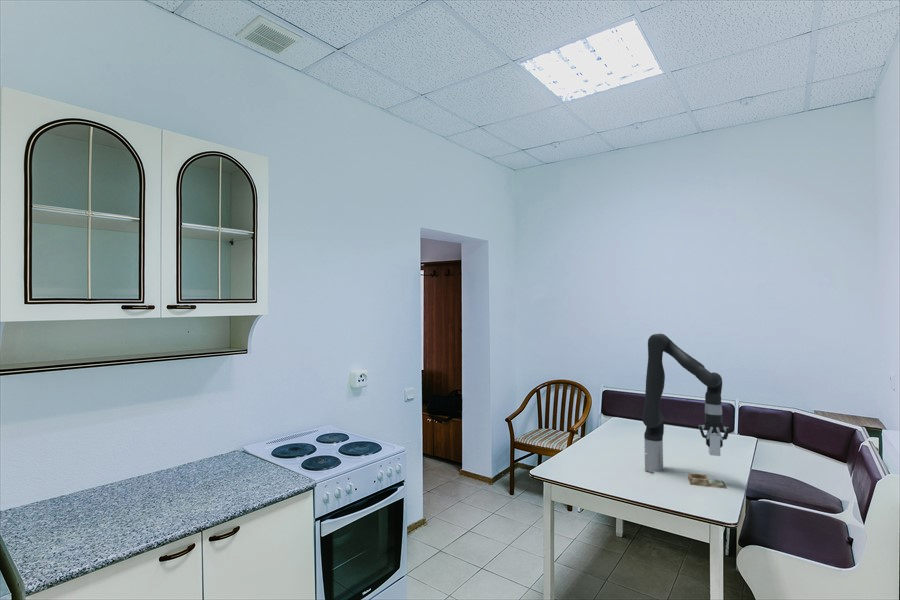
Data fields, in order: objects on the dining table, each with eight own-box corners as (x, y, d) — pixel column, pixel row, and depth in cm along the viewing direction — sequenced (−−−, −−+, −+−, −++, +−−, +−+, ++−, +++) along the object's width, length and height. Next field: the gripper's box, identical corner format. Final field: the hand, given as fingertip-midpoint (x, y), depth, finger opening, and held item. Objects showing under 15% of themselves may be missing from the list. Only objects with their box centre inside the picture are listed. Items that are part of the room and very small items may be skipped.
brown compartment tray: (690, 486, 222) (690, 478, 222) (687, 478, 232) (687, 470, 232) (727, 490, 216) (727, 482, 216) (723, 482, 226) (722, 474, 226)
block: (710, 455, 223) (709, 435, 223) (708, 452, 227) (708, 432, 227) (720, 456, 221) (720, 435, 221) (718, 453, 225) (718, 433, 226)
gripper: (698, 413, 224) (699, 447, 223) (731, 415, 219) (732, 450, 218) (696, 410, 231) (697, 443, 230) (728, 412, 226) (729, 446, 225)
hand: (714, 446), depth 224 cm, fingers closed on block, 4 cm apart
